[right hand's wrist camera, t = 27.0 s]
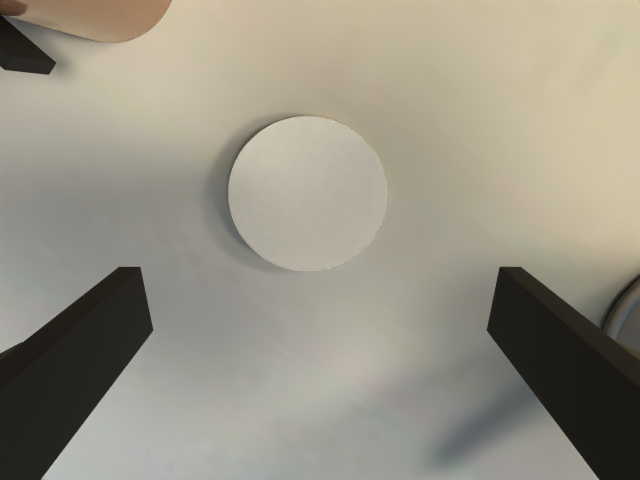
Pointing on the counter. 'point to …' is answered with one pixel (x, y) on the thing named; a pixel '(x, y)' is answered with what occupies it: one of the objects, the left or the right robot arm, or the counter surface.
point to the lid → (307, 193)
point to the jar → (90, 16)
